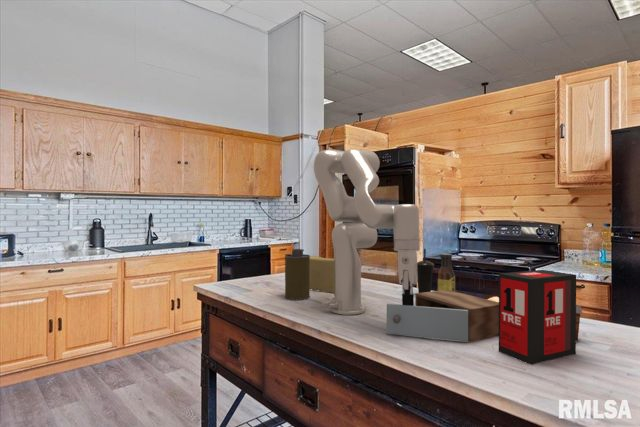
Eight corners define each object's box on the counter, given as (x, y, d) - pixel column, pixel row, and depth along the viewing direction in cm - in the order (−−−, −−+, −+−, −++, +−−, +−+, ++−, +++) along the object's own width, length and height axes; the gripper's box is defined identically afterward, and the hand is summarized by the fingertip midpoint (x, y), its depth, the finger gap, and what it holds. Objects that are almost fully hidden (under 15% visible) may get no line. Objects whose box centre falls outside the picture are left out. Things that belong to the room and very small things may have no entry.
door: (468, 343, 100) (468, 312, 100) (385, 335, 107) (385, 305, 107) (467, 340, 103) (467, 310, 103) (386, 332, 109) (387, 303, 109)
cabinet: (470, 342, 102) (470, 309, 102) (415, 321, 122) (415, 293, 122) (504, 334, 109) (504, 303, 109) (446, 315, 128) (446, 289, 128)
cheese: (350, 292, 165) (350, 258, 165) (336, 296, 157) (336, 260, 157) (313, 286, 180) (313, 254, 179) (299, 289, 172) (299, 256, 172)
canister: (314, 296, 157) (314, 248, 157) (300, 301, 148) (300, 251, 148) (293, 293, 162) (294, 247, 162) (278, 298, 154) (278, 249, 154)
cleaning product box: (542, 342, 102) (542, 269, 102) (575, 354, 94) (576, 274, 94) (498, 351, 96) (499, 273, 96) (530, 364, 88) (530, 279, 88)
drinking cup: (434, 294, 162) (434, 248, 162) (433, 298, 154) (433, 249, 154) (416, 293, 164) (416, 247, 164) (414, 296, 157) (414, 249, 157)
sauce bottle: (456, 309, 137) (456, 255, 137) (438, 308, 138) (438, 254, 138) (453, 305, 143) (454, 253, 143) (436, 304, 144) (436, 252, 144)
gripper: (418, 247, 103) (419, 314, 103) (420, 244, 118) (422, 302, 117) (390, 247, 106) (392, 312, 105) (396, 244, 120) (397, 301, 120)
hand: (408, 307), depth 111 cm, fingers closed
